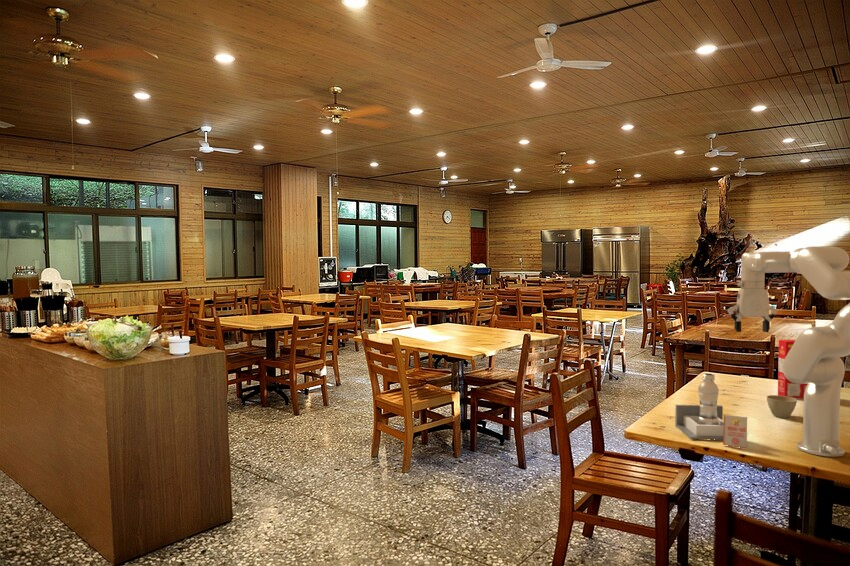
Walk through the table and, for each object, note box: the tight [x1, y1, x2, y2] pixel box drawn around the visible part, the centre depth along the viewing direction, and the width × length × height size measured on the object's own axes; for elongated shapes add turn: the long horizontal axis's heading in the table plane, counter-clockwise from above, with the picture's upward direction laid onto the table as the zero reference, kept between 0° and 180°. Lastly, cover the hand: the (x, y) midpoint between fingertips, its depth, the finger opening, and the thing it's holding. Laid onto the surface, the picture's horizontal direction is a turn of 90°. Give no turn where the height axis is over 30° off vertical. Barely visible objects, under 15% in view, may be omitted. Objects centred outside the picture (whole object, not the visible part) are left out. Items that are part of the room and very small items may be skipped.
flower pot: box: [766, 394, 798, 419], centre depth 222 cm, size 10×10×7 cm
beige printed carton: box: [722, 414, 748, 449], centre depth 189 cm, size 4×7×10 cm, turn 61°
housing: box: [674, 404, 724, 441], centre depth 202 cm, size 16×16×8 cm
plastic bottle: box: [697, 373, 720, 425], centre depth 202 cm, size 6×7×20 cm
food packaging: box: [777, 339, 808, 398], centre depth 252 cm, size 15×5×25 cm, turn 89°
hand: (751, 331), depth 213 cm, fingers open, 9 cm apart
